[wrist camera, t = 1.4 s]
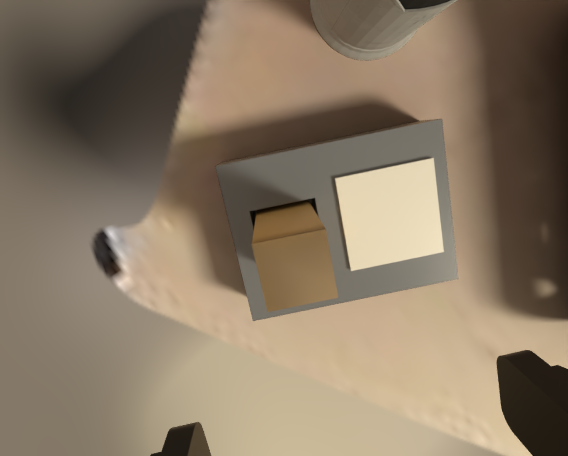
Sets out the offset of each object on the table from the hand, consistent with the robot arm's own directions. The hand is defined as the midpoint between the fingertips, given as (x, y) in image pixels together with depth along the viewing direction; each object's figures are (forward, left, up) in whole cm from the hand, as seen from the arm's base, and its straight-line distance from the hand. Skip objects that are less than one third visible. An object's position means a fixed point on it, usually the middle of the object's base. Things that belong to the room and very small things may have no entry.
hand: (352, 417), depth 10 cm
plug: (0, -1, -22) cm, 22 cm away
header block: (0, +3, -23) cm, 23 cm away
